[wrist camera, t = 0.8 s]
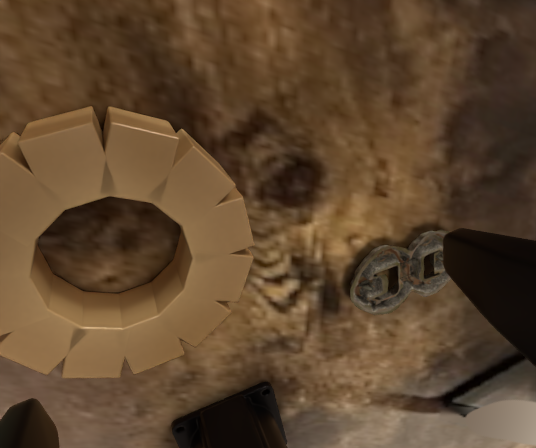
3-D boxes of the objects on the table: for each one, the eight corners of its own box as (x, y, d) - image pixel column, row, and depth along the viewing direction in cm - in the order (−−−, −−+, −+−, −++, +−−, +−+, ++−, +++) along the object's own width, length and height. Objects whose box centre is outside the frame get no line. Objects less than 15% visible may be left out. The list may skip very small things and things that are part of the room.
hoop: (255, 289, 24) (272, 320, 22) (38, 371, 22) (32, 416, 19) (201, 77, 18) (217, 88, 16) (-104, 156, 16) (-137, 184, 14)
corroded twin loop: (452, 275, 29) (463, 284, 28) (346, 318, 27) (354, 328, 27) (455, 211, 27) (467, 218, 26) (339, 253, 25) (348, 262, 24)
